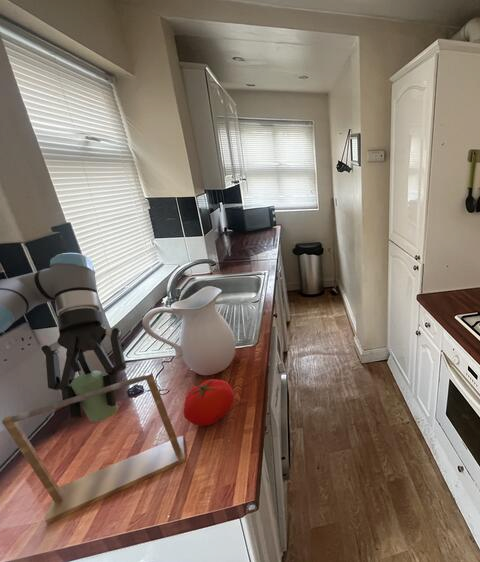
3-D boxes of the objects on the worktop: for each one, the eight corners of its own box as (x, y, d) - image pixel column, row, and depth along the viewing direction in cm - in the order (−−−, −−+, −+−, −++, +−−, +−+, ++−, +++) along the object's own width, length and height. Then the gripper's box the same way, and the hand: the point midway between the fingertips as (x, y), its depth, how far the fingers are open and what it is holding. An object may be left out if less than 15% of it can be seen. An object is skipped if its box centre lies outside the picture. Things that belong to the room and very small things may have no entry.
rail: (47, 524, 63) (-15, 437, 54) (57, 491, 69) (4, 408, 60) (186, 461, 75) (155, 381, 66) (184, 438, 82) (156, 362, 72)
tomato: (209, 397, 95) (200, 369, 91) (245, 401, 93) (238, 373, 89) (177, 432, 83) (165, 402, 79) (218, 437, 81) (208, 407, 77)
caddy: (86, 426, 67) (54, 365, 60) (91, 411, 71) (61, 352, 65) (116, 415, 69) (88, 356, 63) (119, 401, 73) (93, 344, 67)
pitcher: (229, 346, 121) (212, 281, 111) (247, 364, 110) (231, 294, 99) (159, 375, 106) (132, 303, 95) (171, 400, 95) (143, 321, 84)
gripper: (132, 308, 80) (149, 395, 73) (35, 330, 71) (45, 431, 64) (122, 297, 74) (141, 391, 67) (15, 320, 65) (24, 430, 58)
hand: (94, 410), depth 66 cm, fingers closed on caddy, 5 cm apart
